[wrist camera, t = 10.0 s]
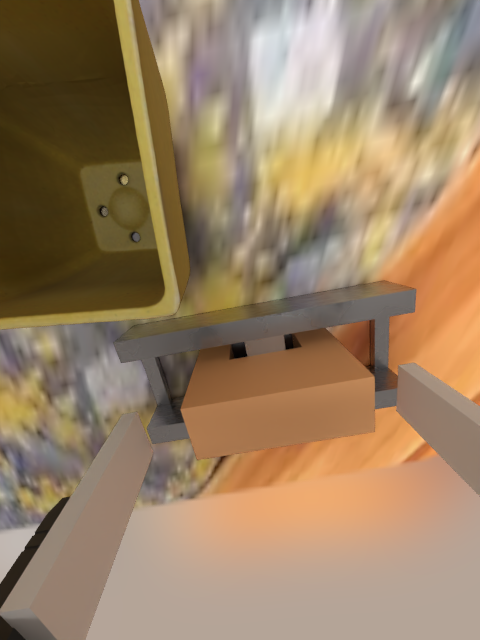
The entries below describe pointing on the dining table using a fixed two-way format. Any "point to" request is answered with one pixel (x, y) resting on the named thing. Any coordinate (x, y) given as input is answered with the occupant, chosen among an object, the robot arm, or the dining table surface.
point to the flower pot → (85, 168)
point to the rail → (265, 338)
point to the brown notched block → (277, 397)
